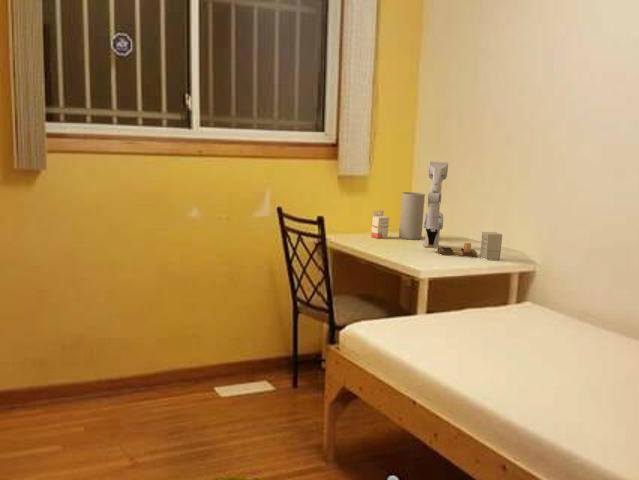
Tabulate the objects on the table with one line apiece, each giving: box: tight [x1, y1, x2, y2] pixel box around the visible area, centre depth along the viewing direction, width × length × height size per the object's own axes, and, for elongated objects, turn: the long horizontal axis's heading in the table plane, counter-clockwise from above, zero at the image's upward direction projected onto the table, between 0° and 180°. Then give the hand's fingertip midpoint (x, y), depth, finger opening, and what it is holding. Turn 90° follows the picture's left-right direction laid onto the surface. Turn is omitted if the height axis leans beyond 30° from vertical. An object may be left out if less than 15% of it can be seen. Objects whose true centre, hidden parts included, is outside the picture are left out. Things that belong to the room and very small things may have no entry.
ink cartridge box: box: [370, 210, 390, 239], centre depth 372 cm, size 9×5×15 cm, turn 133°
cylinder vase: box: [398, 191, 426, 241], centre depth 376 cm, size 12×12×25 cm
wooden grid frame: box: [436, 246, 478, 258], centre depth 333 cm, size 12×18×2 cm, turn 85°
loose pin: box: [426, 242, 434, 249], centre depth 335 cm, size 3×3×6 cm
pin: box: [463, 242, 472, 253], centre depth 330 cm, size 3×3×6 cm
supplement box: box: [479, 231, 503, 260], centre depth 325 cm, size 7×7×13 cm
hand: (430, 244), depth 335 cm, fingers closed on loose pin, 3 cm apart
